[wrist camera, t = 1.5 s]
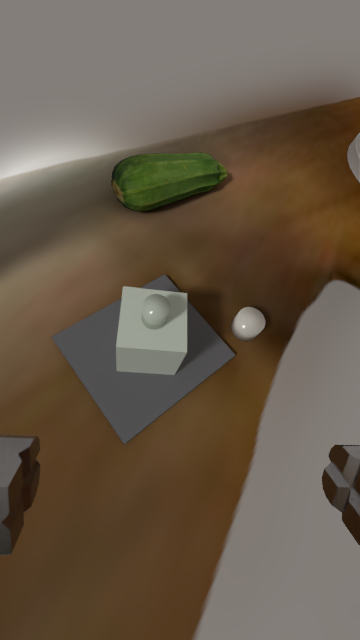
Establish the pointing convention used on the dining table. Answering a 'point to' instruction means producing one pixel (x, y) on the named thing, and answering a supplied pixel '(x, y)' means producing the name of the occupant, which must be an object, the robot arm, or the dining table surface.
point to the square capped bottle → (151, 331)
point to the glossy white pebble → (248, 323)
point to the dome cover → (354, 156)
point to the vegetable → (164, 178)
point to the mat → (130, 387)
